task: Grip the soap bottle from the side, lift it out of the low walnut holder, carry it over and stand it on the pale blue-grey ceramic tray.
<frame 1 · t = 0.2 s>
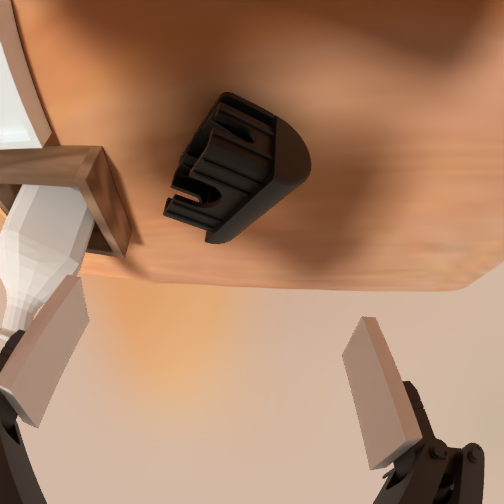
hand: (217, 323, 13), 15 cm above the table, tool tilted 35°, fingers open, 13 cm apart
walnut holder: (62, 190, 30), on the table
end cap: (237, 144, 24), on the table
soap bottle: (63, 189, 30), resting in walnut holder
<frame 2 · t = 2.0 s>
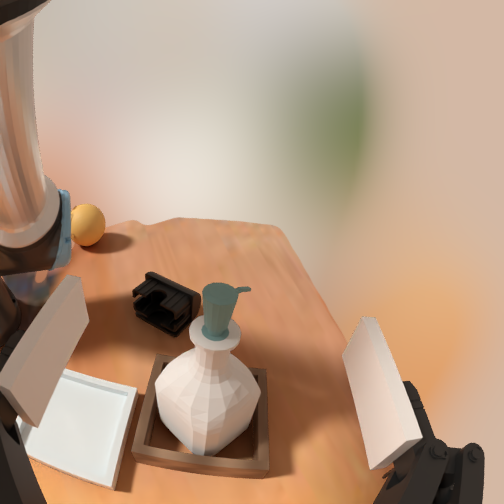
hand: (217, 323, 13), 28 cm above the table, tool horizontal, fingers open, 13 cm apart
walnut holder: (204, 423, 35), on the table
stress ball: (87, 244, 66), on the table
end cap: (166, 316, 52), on the table
soap bottle: (203, 423, 36), resting in walnut holder
tray: (74, 425, 30), on the table
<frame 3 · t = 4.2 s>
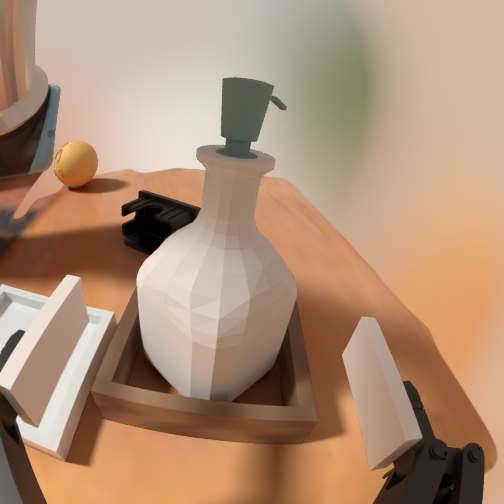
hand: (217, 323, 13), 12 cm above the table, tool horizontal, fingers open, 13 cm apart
walnut holder: (208, 363, 26), on the table
stress ball: (76, 187, 57), on the table
end cap: (161, 245, 43), on the table
soap bottle: (208, 364, 26), resting in walnut holder
tray: (23, 363, 20), on the table
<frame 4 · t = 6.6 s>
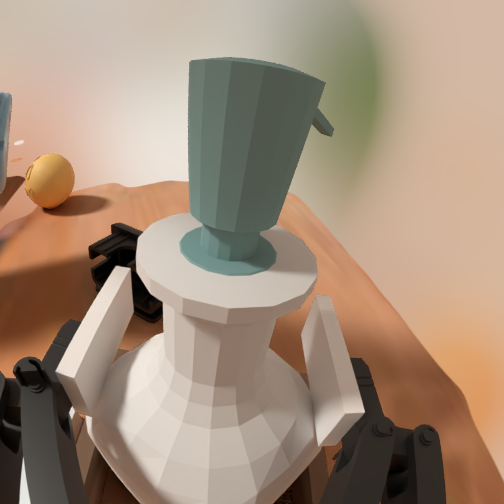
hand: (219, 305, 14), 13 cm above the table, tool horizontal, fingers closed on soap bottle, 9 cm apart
walnut holder: (200, 476, 17), on the table
stress ball: (52, 207, 48), on the table
end cap: (141, 292, 33), on the table
soap bottle: (200, 477, 17), resting in walnut holder, touching gripper
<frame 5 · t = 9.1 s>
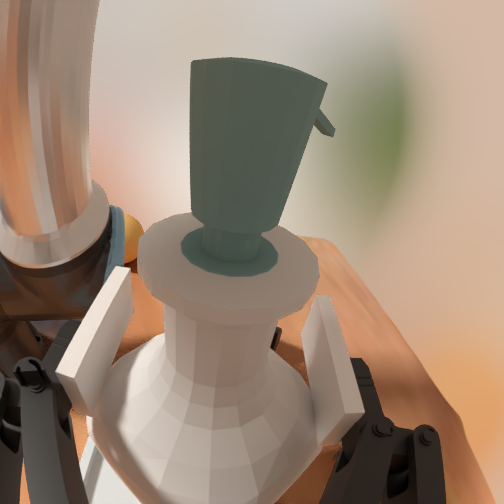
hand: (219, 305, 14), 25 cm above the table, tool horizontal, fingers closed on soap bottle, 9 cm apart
stress ball: (121, 261, 59), on the table
soap bottle: (200, 477, 17), point 12 cm above the table, touching gripper
when the fingers open (15 cm above the table, at t = 11.9 s): soap bottle drops 1 cm, resting on tray.
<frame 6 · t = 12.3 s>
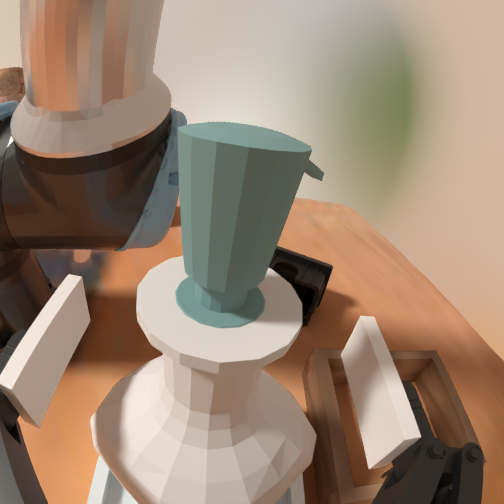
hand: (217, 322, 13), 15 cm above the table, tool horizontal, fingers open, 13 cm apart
walnut holder: (384, 432, 24), on the table
pottery vessel: (8, 201, 52), on the table
end cap: (280, 301, 40), on the table
soap bottle: (198, 483, 17), point 1 cm above the table, touching tray
tray: (199, 483, 18), on the table
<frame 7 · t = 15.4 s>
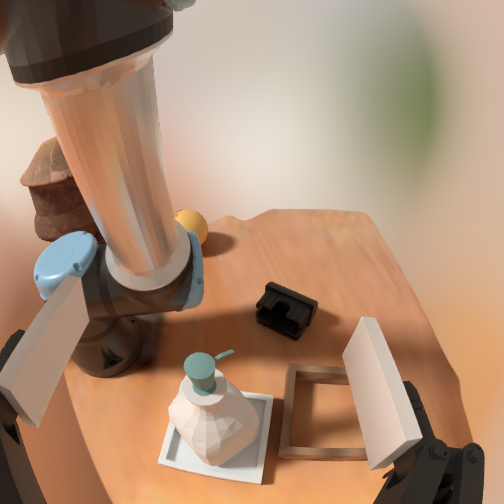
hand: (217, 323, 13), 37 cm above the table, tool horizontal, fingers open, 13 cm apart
walnut holder: (328, 417, 43), on the table
stress ball: (189, 247, 76), on the table
pottery vessel: (81, 234, 80), on the table
end cap: (284, 320, 59), on the table
soap bottle: (218, 434, 40), point 1 cm above the table, touching tray
tray: (218, 434, 41), on the table
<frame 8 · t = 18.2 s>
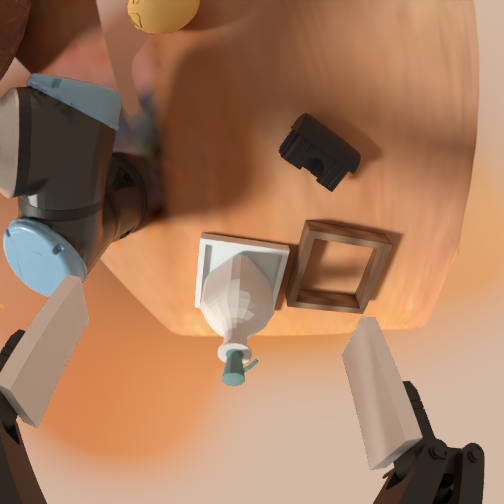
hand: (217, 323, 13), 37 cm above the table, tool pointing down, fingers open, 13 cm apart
walnut holder: (334, 264, 55), on the table
stress ball: (172, 10, 33), on the table
pottery vessel: (8, 35, 31), on the table
end cap: (314, 147, 45), on the table
soap bottle: (238, 277, 56), point 1 cm above the table, touching tray
tray: (239, 275, 56), on the table
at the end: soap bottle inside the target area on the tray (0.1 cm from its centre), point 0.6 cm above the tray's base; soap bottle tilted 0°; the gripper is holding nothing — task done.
